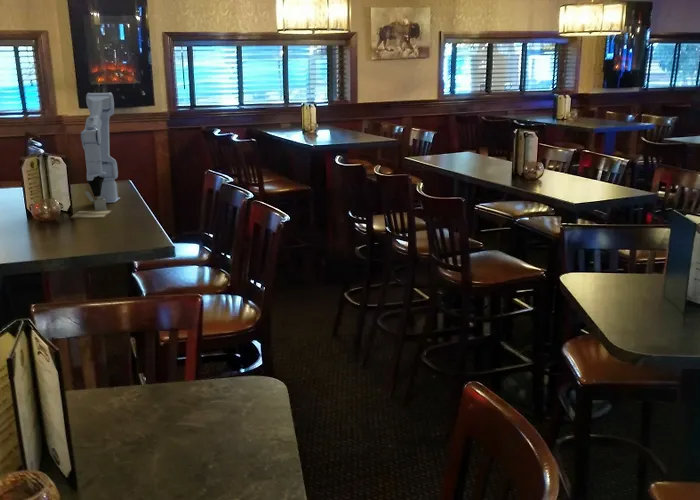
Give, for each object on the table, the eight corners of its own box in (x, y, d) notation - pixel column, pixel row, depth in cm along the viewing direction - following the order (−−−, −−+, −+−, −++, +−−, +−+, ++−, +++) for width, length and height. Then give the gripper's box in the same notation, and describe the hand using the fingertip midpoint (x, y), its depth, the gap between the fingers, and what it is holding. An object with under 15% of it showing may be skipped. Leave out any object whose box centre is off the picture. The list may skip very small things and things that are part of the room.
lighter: (106, 209, 267) (104, 189, 265) (106, 210, 266) (104, 190, 264) (87, 211, 265) (84, 190, 263) (87, 212, 263) (84, 191, 261)
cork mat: (79, 212, 263) (79, 211, 263) (111, 211, 264) (111, 210, 264) (70, 218, 253) (70, 217, 252) (103, 217, 253) (103, 216, 253)
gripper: (98, 163, 256) (102, 199, 259) (109, 158, 270) (112, 192, 273) (79, 163, 255) (83, 199, 259) (91, 158, 269) (94, 193, 273)
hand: (97, 196), depth 266 cm, fingers closed
